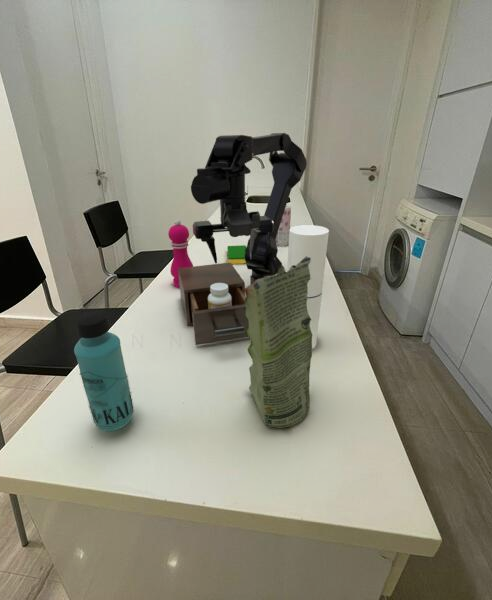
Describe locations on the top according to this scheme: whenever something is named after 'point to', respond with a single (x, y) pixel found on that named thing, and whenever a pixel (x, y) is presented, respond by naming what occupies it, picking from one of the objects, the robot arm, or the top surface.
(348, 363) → the top surface
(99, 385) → the beverage bottle
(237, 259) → the dish sponge
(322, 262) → the cylindrical container
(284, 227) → the beverage can
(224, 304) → the supplement bottle
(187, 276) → the cabinet
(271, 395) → the pouch
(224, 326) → the drawer
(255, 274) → the robot arm
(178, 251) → the pepper mill
